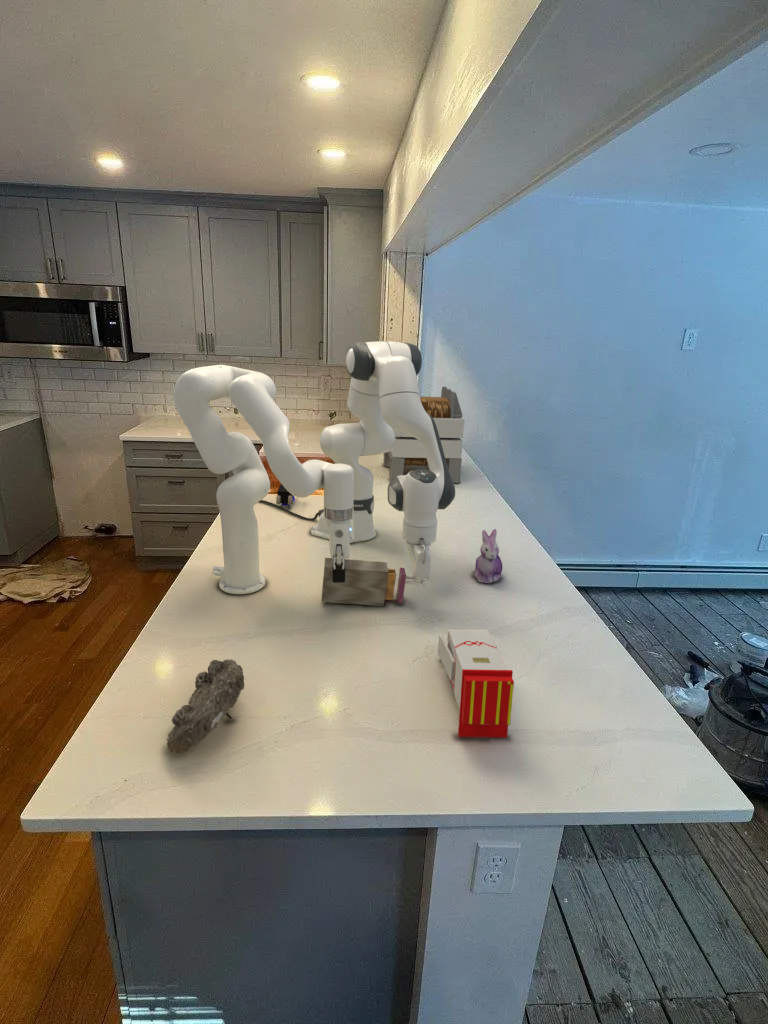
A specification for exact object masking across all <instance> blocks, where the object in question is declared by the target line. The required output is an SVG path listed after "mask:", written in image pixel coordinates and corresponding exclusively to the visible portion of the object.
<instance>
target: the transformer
mask: <svg viewBox="0 0 768 1024" xmlns="http://www.w3.org/2000/svg"><path fill="white" fill-rule="evenodd" d="M440 393H441V394H440V396H420V400H421V403H422V406H423V408H424V410H425V411H426V413H427V414H428V415H430V416H431V417H432V418H433V419H434V421H435V424H436V427H437V430H438V433H439V437H440V440H441V444H442V448H443V452H444V456H445V459H446V463H447V467H448V470H449V473H450V475H451V478H452V480H453V483H454V484H455V483H456V484H459V483H461V472H462V461H463V460H462V453H463V442H464V441H463V440H462V439H463V438H464V431H465V430H464V429H465V419H464V418H463V411H462V408H461V405H460V402H459V398H458V395H457V392H455V391H453V390H452V389H451V388H447V386H442V387H441V392H440ZM392 429H393V431H394V433H395V444H394V446H393V448H392V449H391V451H389V452H386V453H383V466H384V467H388V468H389V475H388V476H389V477H388V478H389V480H390V481H391V480H392V479H393V478H394V477H395V476H400V475H404V469H405V466H406V467H407V466H411V467H412V466H413V467H415V466H416V467H417V466H418V467H429V466H428V462H427V458H426V454H425V450H424V447H423V445H422V443H421V442H420V441H419V440H418V439H416V438H415V437H413V436H411V435H408V434H406V433H403V432H400V431H397V430H395V429H394V428H392Z"/></svg>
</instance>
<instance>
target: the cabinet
mask: <svg viewBox="0 0 768 1024" xmlns="http://www.w3.org/2000/svg"><path fill="white" fill-rule="evenodd" d="M336 562H337V559H336ZM341 562H342V559H341ZM387 563H388V562H387V561H386V562H385V561H373V560H362V559H360V560H359V559H350V558H348V559H347V558H345V559H344V568H345V582H344V583H333V568H334V559H333V558H331V557H325V558H324V565H323V575H322V576H323V577H322V585H321V602H320V603H334V604H335V603H336V604H346V605H362V606H374V607H375V606H376V607H384V606H385V602H386V601H385V594H386V586H387V579H388V569H389V567H388V564H387Z"/></svg>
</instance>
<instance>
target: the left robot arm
mask: <svg viewBox="0 0 768 1024" xmlns="http://www.w3.org/2000/svg"><path fill="white" fill-rule="evenodd" d="M173 387H174V388H173V402H174V405H175V408H176V411H177V413H178V414H179V417H180V418H181V420H182V422H183V423H184V425H185V427H186V428H187V430H188V432H189V434H190V436H191V439H192V441H193V443H194V444H195V446H196V449H197V451H198V452H199V455H200V457H201V458H202V461H203V463H204V465H205V466H206V468H207V469H208V471H210V472H211V473H213V474H215V475H224V474H227V473H230V472H232V474H233V475H231V476H229V477H227V478H226V479H224V480H223V481H222V482H221V483H220V485H219V486H218V487H217V490H216V495H215V497H216V503H217V504H216V505H217V507H218V511H219V512H218V513H219V516H220V523H221V524H220V525H221V539H222V553H223V554H222V555H223V557H222V558H223V566H221V565H213V567H212V568H211V569H212V570H211V571H212V576H213V577H219V578H220V579H219V581H218V586H219V588H220V590H222V591H223V592H224V593H228V594H232V595H248V594H252V593H255V592H258V591H260V590H261V589H263V588H264V587H265V585H266V577H265V576H264V575H263V574H262V573H260V572H261V571H260V546H259V524H258V519H257V515H256V513H255V510H254V506H255V505H257V503H260V502H259V501H260V500H264V499H265V498H266V497H267V496H268V495H269V493H270V491H271V480H270V477H269V475H268V472H267V470H266V468H265V465H264V464H263V461H262V459H261V457H260V455H259V453H258V451H257V449H256V447H255V445H254V443H253V442H252V440H251V439H250V438H249V437H248V436H246V435H245V434H244V433H242V432H239V431H229V432H228V431H227V429H226V428H225V426H224V424H223V422H222V421H223V420H222V419H221V418H220V416H219V414H218V413H217V412H216V411H215V410H214V408H212V407H211V406H210V405H209V403H210V402H211V401H215V400H219V399H223V398H227V399H229V400H230V402H231V403H232V405H233V406H234V407H235V408H236V410H237V411H238V412H239V414H240V415H241V416H242V417H243V419H244V421H246V423H247V425H249V427H250V428H251V429H252V431H253V432H254V433H255V434H256V436H257V437H258V438H259V440H260V441H261V444H262V447H263V452H264V455H265V458H266V461H267V464H268V466H269V468H270V470H271V472H272V473H273V475H274V476H275V477H276V479H277V481H279V483H280V485H281V484H282V485H283V486H284V487H285V489H286V490H287V491H288V492H290V493H291V494H292V495H294V497H295V498H303V499H304V498H307V497H309V496H311V495H312V494H314V493H315V492H316V491H319V490H321V489H323V509H324V519H325V520H326V521H329V539H328V541H329V550H330V552H329V553H330V558H333V559H334V568H333V583H344V582H345V568H344V559H350V557H351V543H350V522H349V521H351V520H353V514H354V506H353V505H354V471H353V468H352V467H351V466H349V465H346V464H335V463H331V462H328V461H324V460H320V459H315V458H314V459H308V460H306V461H304V462H303V463H301V462H300V460H298V458H297V457H296V454H295V453H294V452H293V450H292V447H291V445H290V440H289V434H290V425H291V424H290V423H291V422H290V420H289V418H287V416H286V415H285V414H284V412H283V411H282V409H281V408H280V407H279V406H278V404H277V403H276V401H274V399H275V397H276V394H277V387H276V384H275V382H274V381H273V379H272V378H271V377H270V376H269V375H267V374H266V373H263V372H260V371H255V370H250V369H245V368H241V367H236V366H231V365H227V364H214V365H207V366H199V367H194V368H191V369H189V370H186V371H185V372H184V373H182V374H181V375H180V376H179V378H177V381H176V383H175V384H174V386H173ZM336 559H337V562H336ZM341 559H342V562H341Z"/></svg>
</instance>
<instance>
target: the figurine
mask: <svg viewBox="0 0 768 1024" xmlns="http://www.w3.org/2000/svg"><path fill="white" fill-rule="evenodd" d="M497 531H498V530H497V528H494V529H493V530H492V531H491V532H490V535H489V534H488V532H487V531H486V530H485V529H482V531H481V536H482V537H481V538H482V539H481V540H482V543H481V545H480V548H479V549H480V550H479V551H480V555H479V556H478V557H477V558H476V559H475V567H474V578H476V579H477V581H478V582H480V583H484V584H492V583H495V582H496V583H497V581H499V580H500V578H501V576H502V572H503V562H502V559H501V556H499V553H500V547H499V545H498V543H497V541H496V540H497V534H498V533H497Z"/></svg>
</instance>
